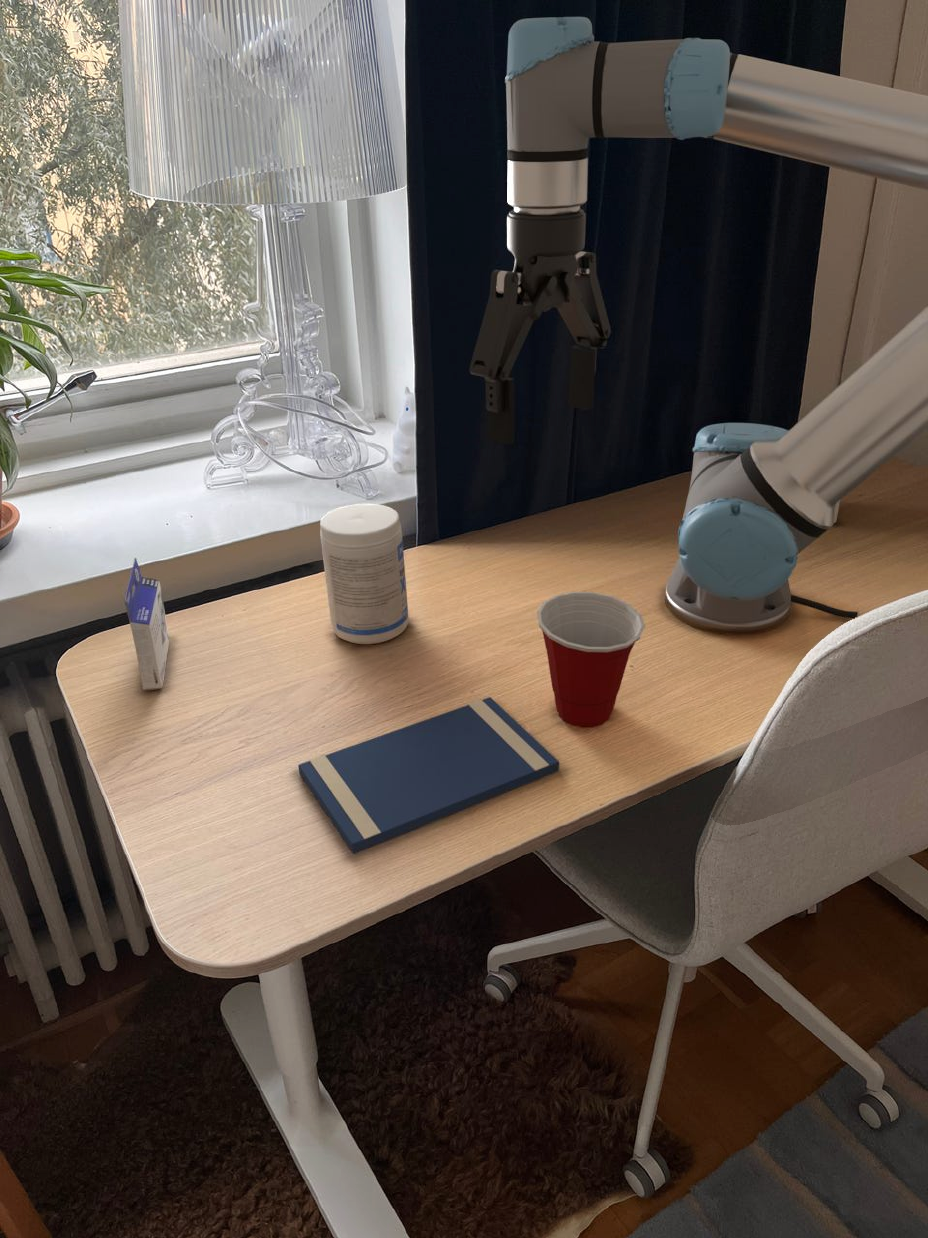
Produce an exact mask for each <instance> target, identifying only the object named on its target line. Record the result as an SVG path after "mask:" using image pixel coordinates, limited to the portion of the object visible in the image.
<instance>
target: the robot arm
mask: <svg viewBox="0 0 928 1238" xmlns="http://www.w3.org/2000/svg"><path fill="white" fill-rule="evenodd" d="M504 84H505V92H506V93H505V95H506V122H507V123H506V130H507V131H506V133H507V134H506V135H507V150H506V152H507V153H506V155H507V156H506V157H507V204H508V205H509V206H510V207H513V209H511V210H510V211H509V212H508V214H507V215H506V247H507V250H508V251H509V252H510V253H511V254H512V255H513V256H514V266H513V270H512V271H508V270H507V271H506V270H499V269H494V270H493V271H492V272H491V273H490V274H491V275H490V288H489V296H488V301H487V305H486V308H485V312H484V315H483V318H482V322H481V326H480V329H479V333H478V336H477V340H476V343H475V346H474V350H473V354H472V357H471V361H470V365H469V373H470V374H471V375H473V376H478V377H481V378H482V377H483V378H484V380H485V400H486V401H485V406H486V410H487V411H488V434H489V435H488V438H489V440H493V441H496V442H499V443H503V444H507V445H511V444H513V443H515V378H513V377H509V375H510V373H511V371H512V369H513V367H514V366H515V365H514V364H515V362H516V360H517V358H518V356H519V354H520V352H521V349H522V347H523V345H524V343H525V341H526V338H527V336H528V334H529V332H530V331H531V327H532V325H533V323H534V322H535V321H536V320H539V318H540V317H541V315H542V313H545V312H548V311H550V310H552V308H554V309H555V308H556V309H557V311H558V312H559V315H560V317H561V318H562V320H563V321H564V324H565V325H566V327H567V329H568V330H569V332H570V334H571V336H572V337H573V340H575V342H576V345H573V346H571V347H570V369H569V375H570V376H569V401H568V402H569V403H568V404H569V407H572V408H576V409H581V410H585V411H592V410H593V409H594V400H595V399H594V397H595V395H594V394H595V375H596V370H597V351H598V349H601V350H604V349H605V348H606V347H607V343H608V340H607V339H609V337H610V336H611V334H612V331H611V325H610V322H609V317H608V313H607V310H606V306H605V301H604V299H603V294H602V291H601V286H600V282H599V278H598V275H597V255H596V253H595V252H591V251H583V250H584V248H585V244H586V223H587V222H586V219H587V213H586V212H585V211H584V210H583V209H582V208H581V206H583V205H584V204H586V202H587V201H588V174H589V173H588V172H589V171H588V169H589V168H588V166H589V165H588V164H589V157H588V156H589V148H588V146H589V139H591V138H596V139H605V138H630V139H631V138H632V139H633V138H634V139H635V138H636V139H639V138H640V139H660V138H661V139H663V138H666V139H668V138H669V139H674V138H676V139H677V140H681V141H684V140H685V139H692V138H705V139H712V140H716V141H721V142H725V143H729V144H733V145H736V146H741V147H746V148H749V149H753V150H758V151H762V152H766V153H771V154H775V155H779V156H783V157H786V158H792V159H796V160H800V161H803V162H808V163H812V164H816V165H821V166H825V167H828V168H832V169H837V170H841V171H846V172H850V173H853V174H858V175H860V176H861V175H863V176H865V177H869V178H870V177H871V178H874V179H880V180H881V181H887V182H891V183H895V184H899V185H904V186H908V187H911V188H916V189H920V190H925V191H928V95H924V94H920V93H915V92H911V91H908V90H907V91H906V90H904V89H903V90H902V89H897V88H894V87H889V86H884V85H880V84H875V83H872V82H866V81H862V80H857V79H853V78H848V77H844V76H839V75H834V74H831V73H826V72H821V71H816V70H812V69H808V68H803V67H799V66H794V65H789V64H785V63H780V62H776V61H771V60H768V59H763V58H758V57H754V56H748V55H744V54H737V53H733V52H731V50H730V47H729V45H728V43H727V42H726V41H724V40H722V39H707V38H706V39H704V38H703V39H702V38H700V37H687V38H681V39H660V40H640V41H624V42H609V41H607V42H606V41H605V42H602V41H595V36H594V34H593V25H592V22H591V19H589V18H588V17H585V16H563V17H554V16H553V17H532V18H531V17H530V18H522V19H519V20H516V22H514V23H513V25H512V26H511V27H510V29H509V31H508V41H507V61H506V76H505V78H504ZM596 323H597V324H596ZM927 429H928V305H927V306H925V307H924V308H923V309H922V310H921V311H919V312H918V314H916V315H915V316H914V317H913V318H912V319H911V320H910V321H909V322H907V324H905V325H904V326H903V327H902V328H901V329H900V330H899V331H898V332H896V333H895V334H894V335H893V336H892V337H891V338H890V339H889V340H887V341H886V342H885V343H884V344H883V345H882V346H881V347H880V348H879V349H878V350H877V351H875V352H874V353H873V354H872V355H871V356H869V358H868V359H867V360H866V361H864V362H863V363H862V364H861V365H860V366H859V367H857V368H856V370H854V371H853V372H852V373H851V374H849V376H848V377H847V378H845V379H844V380H843V381H842V382H841V383H840V384H839V385H838V386H836V387H835V388H834V389H833V391H831V392H830V393H829V394H828V395H826V397H824V398H823V399H822V400H821V401H820V402H819V403H817V405H815V406H814V407H813V408H812V409H811V410H810V411H809V412H808V413H807V414H806V415H805V416H804V417H802V418H801V419H800V420H799V421H797V423H795V424H794V425H793V427H791V428H790V429H785V428H783V427H779V426H774V425H769V424H761V423H751V422H750V423H749V422H724V423H715V424H710V425H706V426H704V427H702V428H701V429H700V430H699V431H698V432H697V433H696V437H695V442H694V446H693V447H692V453H693V460H692V469H691V479H690V484H689V488H688V494H687V497H686V502H685V508H684V511H683V514H682V515H683V516H682V520H681V522H680V524H679V528H678V531H677V544H678V559H677V560H676V563H675V565H674V566H673V569H672V571H671V573H670V574H669V577H668V580H667V583H666V585H665V593H664V602H665V606H666V607H667V610H668V611H669V612H670V613H671V614H672V615H673V616H674V617H676V618H677V619H678V620H680V621H682V622H683V623H686V624H687V625H689V626H692V627H694V628H697V629H700V630H704V631H707V632H712V633H718V634H726V635H751V634H752V635H753V634H758V633H764V632H767V631H770V630H773V629H775V628H778V627H779V626H780V625H782V624H783V623H785V622H786V620H787V619H788V617H789V616H790V611H791V605H792V603H794V604H798V605H801V606H805V607H808V608H812V609H815V610H817V611H821V612H823V613H826V614H830V615H833V616H835V617H840V618H846V619H855V617H857V618H858V615H859V614H858V613H859V612H858V611H850V610H844V609H839V608H835V607H833V606H830V605H827V604H824V603H821V602H818V601H815V600H812V599H808V598H805V597H801V596H798V595H794V594H792V591H791V586H790V582H789V578H790V577H791V575H792V574H793V571H794V570H795V568H796V566H797V561H798V555H799V554H800V553H802V552H803V551H804V550H805V549H806V548H807V547H809V546H810V545H811V544H812V543H814V542H815V541H816V540H817V539H819V538H820V537H821V536H822V535H823V534H824V533H826V532H827V531H828V530H829V529H831V528H833V526H834V524H835V523H834V515H835V506H836V503H837V502H838V501H840V502H841V500H843V498H844V497H846V496H847V495H848V494H850V493H851V492H852V491H853V490H855V488H857V487H858V486H859V485H860V484H862V483H863V482H864V481H865V480H867V479H868V478H869V477H870V476H871V475H873V474H874V473H875V472H876V471H878V469H880V468H882V467H883V465H885V464H886V463H887V462H889V461H890V460H891V459H892V458H893V457H894V456H896V455H897V454H898V453H900V451H902V450H903V449H904V448H906V446H908V445H909V444H910V443H912V441H914V440H915V439H917V438H918V437H919V436H920V435H921V434H922V433H924V432H925V431H927ZM855 620H856V619H855Z"/></svg>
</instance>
